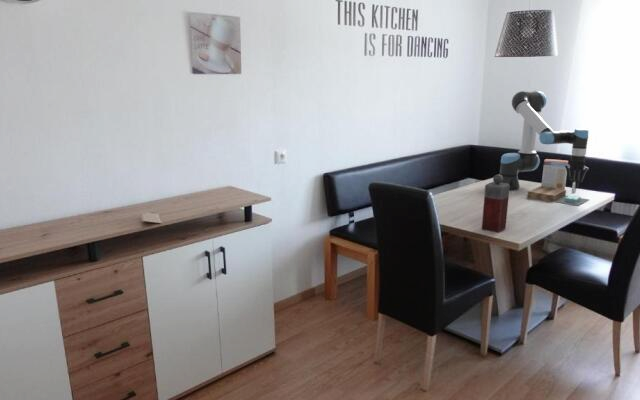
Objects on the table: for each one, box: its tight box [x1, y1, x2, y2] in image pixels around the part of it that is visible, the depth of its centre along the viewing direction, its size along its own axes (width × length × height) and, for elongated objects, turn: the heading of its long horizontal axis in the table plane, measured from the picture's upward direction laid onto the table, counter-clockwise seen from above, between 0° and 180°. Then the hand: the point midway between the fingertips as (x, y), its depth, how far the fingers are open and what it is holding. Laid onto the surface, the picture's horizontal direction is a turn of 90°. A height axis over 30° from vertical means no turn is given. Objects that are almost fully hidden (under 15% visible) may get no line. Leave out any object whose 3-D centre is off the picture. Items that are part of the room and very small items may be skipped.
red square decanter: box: [481, 173, 510, 234], centre depth 239 cm, size 9×11×28 cm
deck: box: [527, 186, 567, 203], centre depth 303 cm, size 16×20×4 cm
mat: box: [553, 195, 590, 207], centre depth 294 cm, size 14×20×1 cm
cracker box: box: [540, 158, 569, 190], centre depth 316 cm, size 14×6×21 cm, turn 58°
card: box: [565, 195, 582, 203], centre depth 293 cm, size 6×9×2 cm, turn 135°
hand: (573, 193), depth 292 cm, fingers closed
